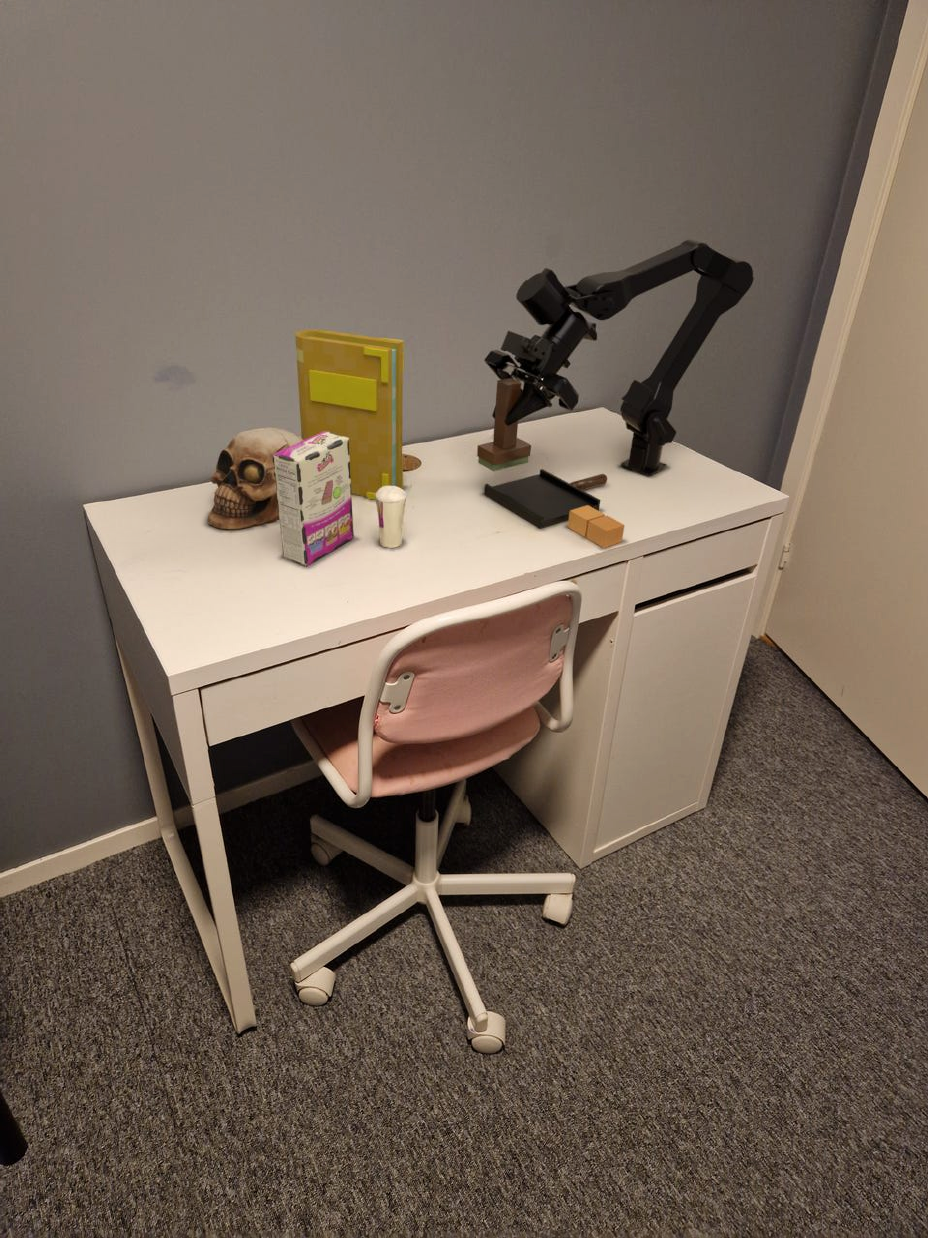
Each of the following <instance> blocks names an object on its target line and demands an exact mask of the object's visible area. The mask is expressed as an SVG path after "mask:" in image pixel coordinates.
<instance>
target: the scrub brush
mask: <svg viewBox="0 0 928 1238" xmlns="http://www.w3.org/2000/svg"><path fill="white" fill-rule="evenodd" d="M521 389H522V386H521V382H519V381H516V380H514V379H512V378H508V379H502V380H500V379H499V380H497V381H496V393H495V405H496V407H495V406H494V408H495V419H494V425H493V438H492V439H493V441H490V442H486V443H485V442H484V443H482V444H477V451H476V457H477V458H478V461H477V462H478V464H479V465H481V466H483V467H485V468H486V469H488V470H490V471H492V472H497V471H501V470H505V469H508V468H512V467H516V466H520V465H523V464H526V463H529V457H531V451H532V444H531V443H528V442H526V441H524V440H523V439H520V438H518V428H519V427H518V426H519V420H518V421H516V422H515V423H513V424H511V425H509V426H508V425H506V424H505V423H504V420H505V419H506V417H507V415H508V413H509V412H510V410H511V409H512V407H513V406H514V405H515V403H516V402H517V400H518V399H519V397H520V392H521Z"/></svg>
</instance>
